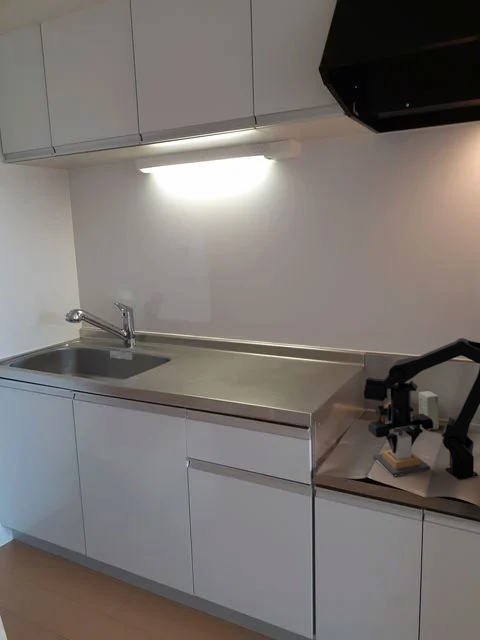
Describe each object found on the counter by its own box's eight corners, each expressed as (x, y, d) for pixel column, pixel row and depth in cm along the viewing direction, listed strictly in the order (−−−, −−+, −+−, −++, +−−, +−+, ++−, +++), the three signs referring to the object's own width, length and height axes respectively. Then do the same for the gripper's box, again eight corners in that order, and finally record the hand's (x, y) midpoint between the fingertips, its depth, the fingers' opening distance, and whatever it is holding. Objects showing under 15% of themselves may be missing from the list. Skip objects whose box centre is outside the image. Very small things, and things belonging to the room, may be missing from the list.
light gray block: (411, 458, 156) (411, 431, 154) (398, 460, 155) (397, 434, 153) (403, 452, 160) (403, 426, 158) (390, 454, 159) (390, 428, 158)
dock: (429, 469, 154) (429, 460, 153) (393, 476, 151) (392, 466, 150) (408, 452, 165) (407, 443, 164) (373, 458, 162) (373, 449, 162)
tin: (391, 417, 193) (391, 396, 192) (399, 419, 191) (399, 397, 190) (377, 432, 181) (377, 409, 179) (386, 434, 179) (386, 411, 178)
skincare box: (439, 429, 180) (439, 396, 178) (427, 431, 180) (427, 397, 177) (429, 422, 186) (429, 390, 184) (418, 424, 186) (418, 391, 183)
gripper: (413, 390, 164) (413, 436, 167) (359, 398, 160) (360, 445, 163) (434, 401, 153) (434, 450, 156) (376, 411, 149) (377, 461, 152)
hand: (400, 451), depth 157 cm, fingers closed on light gray block, 4 cm apart
